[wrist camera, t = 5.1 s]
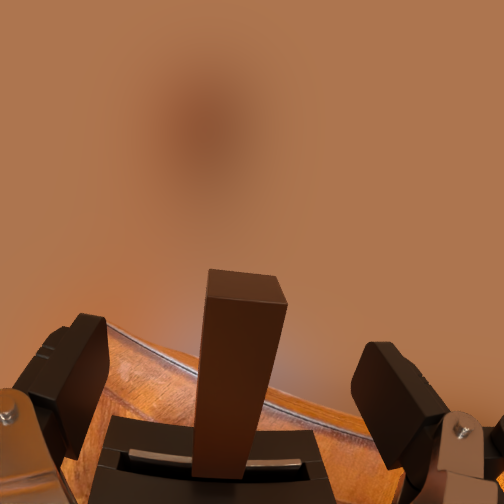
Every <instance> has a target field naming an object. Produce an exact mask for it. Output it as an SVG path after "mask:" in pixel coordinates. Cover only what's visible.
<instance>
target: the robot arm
mask: <svg viewBox="0 0 504 504" xmlns="http://www.w3.org/2000/svg"><path fill="white" fill-rule="evenodd" d="M109 366H110V359H109V349H108V337H107V324H106V319H105V318H104V317H101V316H95V315H89V314H84V313H80V314H79V315H78V316H77V318H76V319H75V320H74V322H73V323H72V325H71V326H70V327H65V326H62V327H61V328H59V329H58V330H56V331H54V332H53V333H51V334H50V335H49V336H48V338H47V339H46V340H45V342H44V343H43V344H42V347H40V348H39V350H38V351H37V353H36V356H34V357H33V358H32V360H31V361H30V362H29V364H28V365H27V367H26V368H25V370H24V371H23V372H22V374H21V375H20V377H19V378H18V380H17V381H16V383H15V384H14V386H13V387H12V388H3V389H0V504H78V503H77V501H76V499H75V497H74V495H73V493H72V491H71V489H70V487H69V485H68V483H67V481H66V479H65V477H64V475H63V472H62V470H61V468H60V467H61V464H62V462H63V459H64V457H66V458H70V459H73V460H78V457H79V454H80V451H81V448H82V445H83V442H84V439H85V437H86V434H87V431H88V428H89V425H90V423H91V420H92V417H93V414H94V412H95V409H96V406H97V404H98V401H99V398H100V396H101V393H102V391H103V388H104V386H105V383H106V381H107V378H108V374H109ZM428 383H429V382H428V381H427V380H426V379H425V377H422V373H421V372H420V371H419V370H418V368H417V367H416V366H415V365H414V364H413V363H412V362H410V361H409V360H407V359H406V358H404V357H403V356H402V355H401V353H400V352H399V351H398V349H397V348H396V347H395V346H394V344H393V343H391V342H369V343H367V344H366V346H365V348H364V351H363V353H362V356H361V358H360V361H359V363H358V366H357V368H356V371H355V373H354V375H353V378H352V381H351V394H352V397H353V399H354V401H355V403H356V405H357V407H358V409H359V411H360V413H361V416H362V418H363V420H364V422H365V424H366V426H367V428H368V430H369V432H370V434H371V436H372V438H373V440H374V442H375V444H376V447H377V449H378V451H379V453H380V455H381V457H382V459H383V461H384V463H385V465H386V468H387V470H392V469H397V468H401V467H403V469H404V472H403V474H402V475H401V476H400V479H399V482H398V485H397V488H396V491H395V494H394V498H393V500H392V503H391V504H504V492H503V490H502V489H501V487H500V485H499V483H498V482H497V480H496V479H497V478H498V476H499V475H500V474H501V473H502V472H503V471H504V415H503V416H502V418H501V419H500V421H499V422H498V423H497V425H496V426H495V427H482V426H481V425H480V423H479V422H478V421H477V420H476V419H475V418H474V417H473V416H471V415H469V414H467V413H465V412H460V411H453V412H451V411H450V410H449V409H448V407H447V406H446V405H445V403H444V402H443V401H442V399H441V398H440V397H439V396H438V394H437V393H436V392H435V390H434V389H433V388H432V386H431V385H429V384H428Z"/></svg>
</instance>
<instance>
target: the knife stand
mask: <svg viewBox="0 0 504 504" xmlns="http://www.w3.org/2000/svg"><path fill="white" fill-rule="evenodd" d="M193 431H194V427H187V426H178V425H170V424H162V423H155V422H148V421H142V420H136V419H130V418H124V417H119V416H114V415H112V416H111V420H110V423H109V426H108V430H107V433H106V436H105V440H104V443H103V448H102V451H101V454H100V458H99V462H98V466H97V468H96V472H95V476H94V480H93V484H92V488H91V492H90V496H89V500H88V504H336V500H335V497H334V494H333V491H332V488H331V485H330V482H329V479H328V476H327V473H326V469H325V466H324V463H323V461H322V457H321V454H320V451H319V448H318V445H317V442H316V439H315V436H314V433H313V430H295V431H256V433H255V436H254V440H253V443H252V447H251V450H250V454H249V457H248V460H283V459H300V460H301V463H302V465H301V467H300V469H299V471H298V473H297V475H296V477H295V478H294V480H293V482H280V483H217V482H200V481H188V480H178V479H169V478H162V477H154V476H148V475H142V474H136V473H132V468H131V464H130V459H129V450H130V449H135V450H141V451H147V452H154V453H161V454H169V455H177V456H187V457H192V448H193Z"/></svg>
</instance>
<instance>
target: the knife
mask: <svg viewBox="0 0 504 504" xmlns="http://www.w3.org/2000/svg"><path fill="white" fill-rule="evenodd" d="M287 306H288V303H287V301H286V299H285V297H284V294H283V292H282V289H281V287H280V285H279V282H278V280H277V278H276V276H269V275H261V274H251V273H242V272H234V271H225V270H216V269H209V271H208V280H207V288H206V297H205V306H204V316H203V325H202V335H201V336H202V337H201V346H200V356H199V367H198V379H197V391H196V403H195V417H194V431H193V448H192V457H187V456H177V455H169V454H161V453H154V452H147V451H141V450H135V449H130V450H129V459H130V464H131V468H132V473H136V474H142V475H148V476H154V477H162V478H169V479H178V480H188V481H200V482H217V483H280V482H293V480H294V478H295V477H296V475H297V473H298V471H299V469H300V467H301V465H302V463H301V460H300V459H283V460H248V457H249V454H250V450H251V447H252V443H253V440H254V436H255V433H256V429H257V425H258V422H259V418H260V414H261V411H262V407H263V403H264V400H265V396H266V392H267V388H268V384H269V380H270V376H271V372H272V368H273V365H274V360H275V356H276V352H277V348H278V344H279V340H280V336H281V332H282V328H283V323H284V319H285V315H286V310H287Z"/></svg>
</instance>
